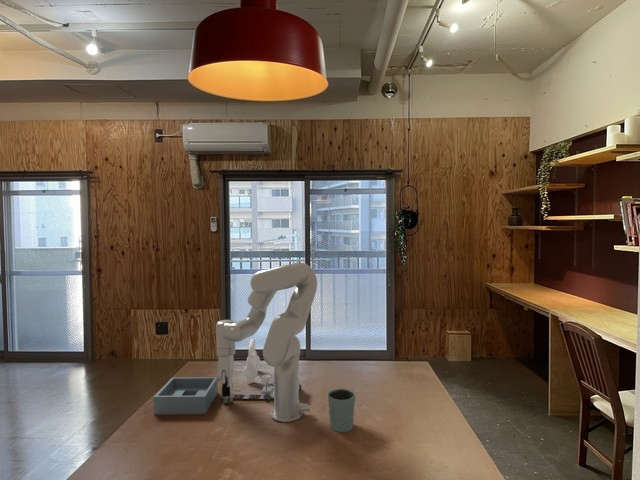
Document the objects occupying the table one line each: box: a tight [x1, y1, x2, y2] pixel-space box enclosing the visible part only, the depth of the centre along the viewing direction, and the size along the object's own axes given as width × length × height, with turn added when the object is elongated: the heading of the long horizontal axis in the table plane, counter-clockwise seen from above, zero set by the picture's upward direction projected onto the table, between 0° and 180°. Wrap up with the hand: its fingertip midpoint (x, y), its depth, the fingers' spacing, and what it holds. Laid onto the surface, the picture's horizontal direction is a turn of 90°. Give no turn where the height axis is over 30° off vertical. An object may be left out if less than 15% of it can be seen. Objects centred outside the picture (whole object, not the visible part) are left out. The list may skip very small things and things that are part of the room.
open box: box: [153, 376, 219, 415], centre depth 168 cm, size 20×20×7 cm
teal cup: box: [327, 388, 356, 433], centre depth 148 cm, size 10×10×12 cm
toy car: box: [258, 374, 303, 401], centre depth 176 cm, size 18×10×12 cm
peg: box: [222, 376, 233, 404], centre depth 168 cm, size 4×4×10 cm
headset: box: [243, 338, 261, 385], centre depth 197 cm, size 20×7×18 cm, turn 5°
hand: (227, 393), depth 168 cm, fingers closed on peg, 4 cm apart
